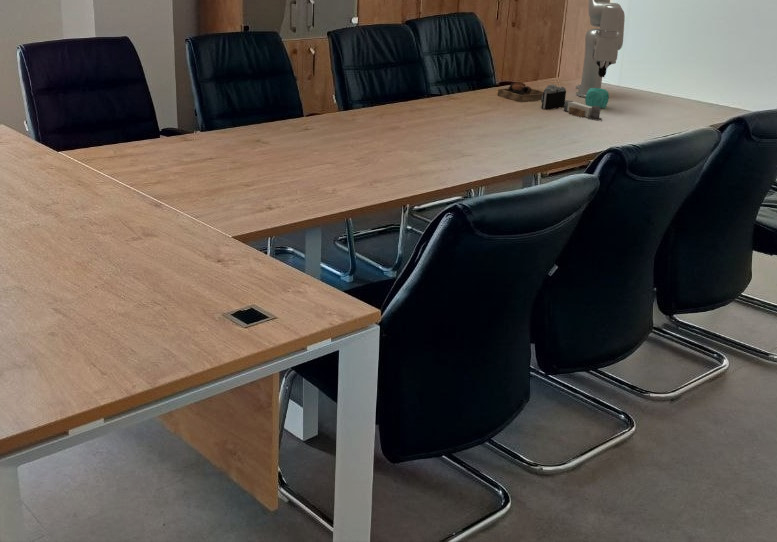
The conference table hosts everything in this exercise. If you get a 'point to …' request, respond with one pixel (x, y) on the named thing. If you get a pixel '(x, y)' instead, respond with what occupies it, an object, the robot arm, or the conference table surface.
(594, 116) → the brown and grey piece
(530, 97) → the wooden picture frame
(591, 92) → the decorative dice
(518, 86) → the pottery mug
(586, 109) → the leg
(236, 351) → the conference table surface
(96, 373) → the conference table surface
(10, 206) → the conference table surface
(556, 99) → the camera
